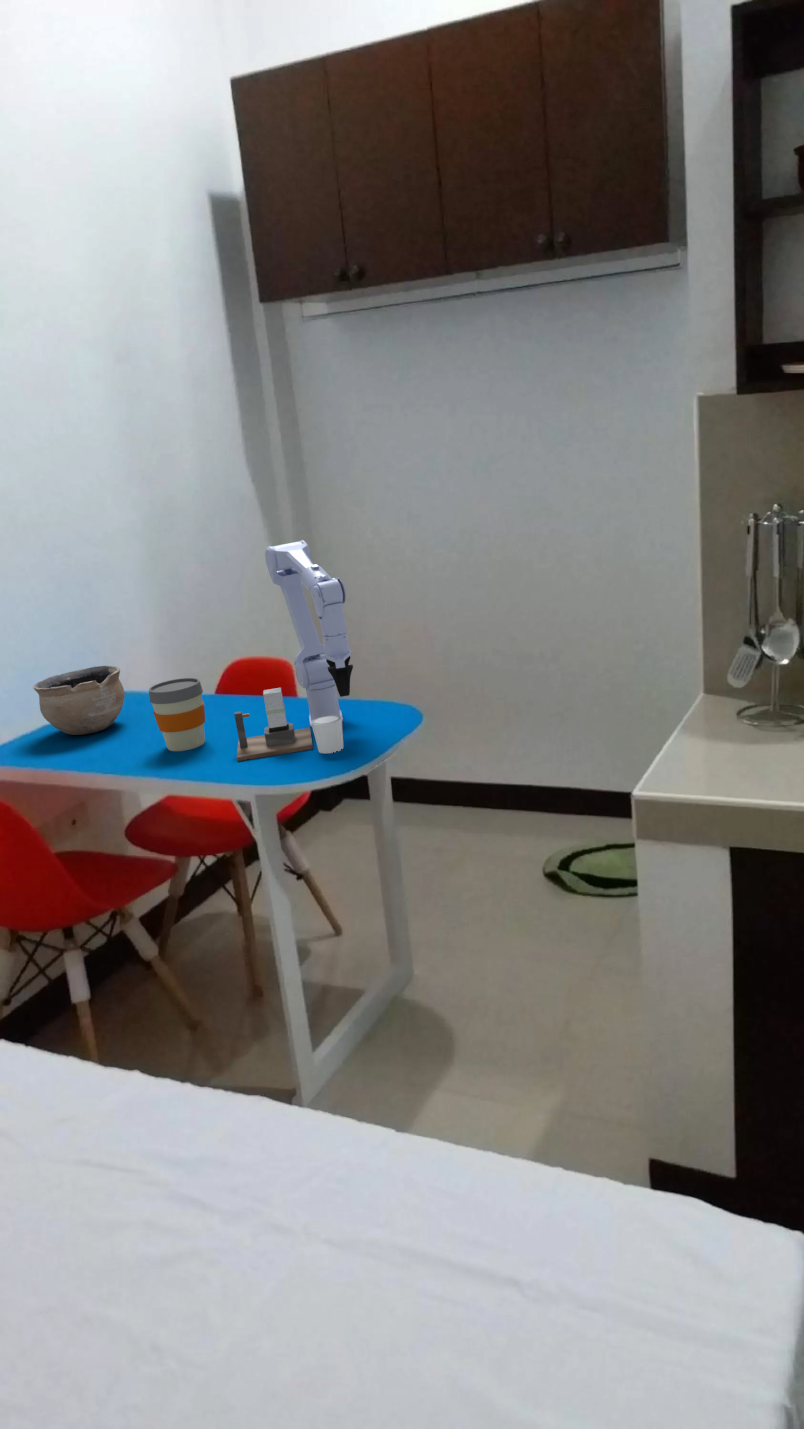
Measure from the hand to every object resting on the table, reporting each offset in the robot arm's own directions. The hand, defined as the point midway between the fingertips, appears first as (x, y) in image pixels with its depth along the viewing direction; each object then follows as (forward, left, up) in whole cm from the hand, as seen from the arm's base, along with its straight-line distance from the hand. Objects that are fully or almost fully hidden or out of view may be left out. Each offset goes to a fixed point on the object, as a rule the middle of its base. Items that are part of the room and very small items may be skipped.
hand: (343, 691), depth 247 cm
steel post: (-1, -16, -5) cm, 17 cm away
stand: (-1, -17, -10) cm, 20 cm away
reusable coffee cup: (-14, -39, -11) cm, 43 cm away
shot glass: (+8, -5, -11) cm, 14 cm away
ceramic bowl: (-43, -67, -11) cm, 80 cm away
